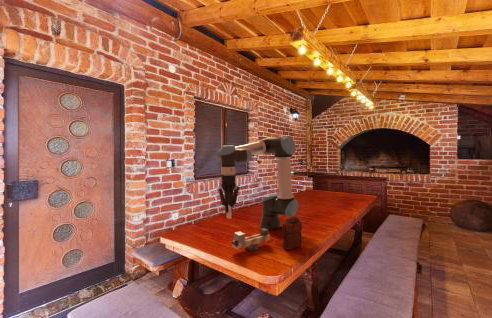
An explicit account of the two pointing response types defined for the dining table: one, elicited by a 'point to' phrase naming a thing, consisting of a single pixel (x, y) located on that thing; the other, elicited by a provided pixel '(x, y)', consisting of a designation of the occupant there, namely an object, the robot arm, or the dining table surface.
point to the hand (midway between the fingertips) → (229, 218)
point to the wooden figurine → (292, 233)
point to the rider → (239, 236)
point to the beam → (252, 240)
